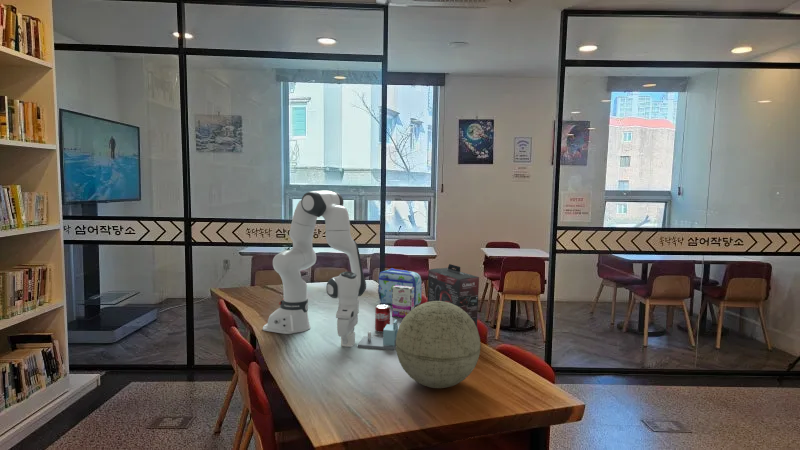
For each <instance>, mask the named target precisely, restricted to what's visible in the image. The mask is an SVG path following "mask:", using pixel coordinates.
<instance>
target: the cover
mask: <svg viewBox="0 0 800 450" xmlns="http://www.w3.org/2000/svg"><path fill="white" fill-rule="evenodd" d="M398 329H399V325H398V319H394V321H393V323H392V324H391V323H390V324H387V325H386V326H385V328H384V330H383V333H382V338H383V345H393V346H394V345H395V340H396V336H397V332H398Z"/></svg>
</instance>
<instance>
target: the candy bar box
mask: <svg viewBox="0 0 800 450" xmlns="http://www.w3.org/2000/svg"><path fill="white" fill-rule="evenodd" d="M414 308H415V306H414V287H409V286H398V285H395V286H393V287H392V305H391V317H393V318H399V319H400V318H401V319H404V317H405V316H406V315H407V314H408V313H409V312H410V311H411V310H412V309H414Z"/></svg>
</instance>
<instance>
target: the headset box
mask: <svg viewBox="0 0 800 450" xmlns="http://www.w3.org/2000/svg"><path fill="white" fill-rule="evenodd" d="M427 279H428V280H427V302H431V301H443V302H448V303H452V304H454V305H456V306H458V307H460V308H461V309H462V310H464V311H465V312H466V313H467V314H468V315H469V316H470V317H471V319H472V320H473V321H474V323H475V325H476V327H477V328H478V314H479V313H478V312H479V311H478V310H479V308H478V307H479V288H480V277H479V276H478V275H473V274H469V273H466V272H463V271H461V266H458V265H454V264H451V263H449V265H448V267H444V268H443V267H442V268H440V267H439V268H431V269H428V277H427Z"/></svg>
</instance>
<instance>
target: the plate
mask: <svg viewBox="0 0 800 450" xmlns="http://www.w3.org/2000/svg"><path fill="white" fill-rule="evenodd" d="M357 348H363V349H372V350H373V349H374V350H375V349H376V350H386V351H387V350H388V351H395V350H396V340H395V345H394V346H393V345H383V337H378V336H372V331H368V332H367V336H365V335H364V336H363V337H362V338H361V339H360V341H359V342H358V343H357Z"/></svg>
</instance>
